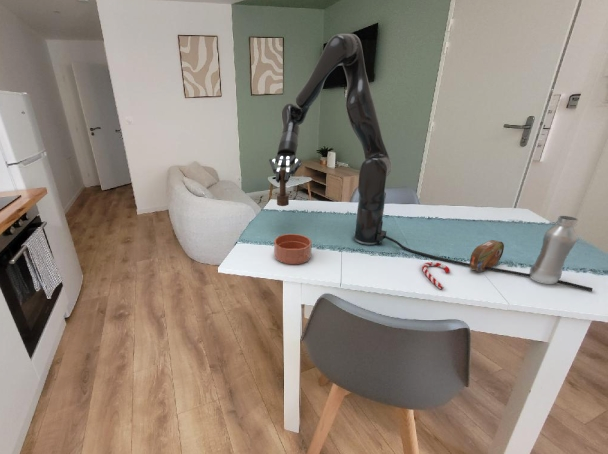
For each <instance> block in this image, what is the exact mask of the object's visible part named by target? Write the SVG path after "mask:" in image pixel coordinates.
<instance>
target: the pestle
mask: <svg viewBox="0 0 608 454" xmlns="http://www.w3.org/2000/svg"><path fill="white" fill-rule="evenodd" d="M285 172H286V169H282V170H280V181H279V193H277V194H276V205H277V206H279V207H287V206H289V204H290V194H289V193H287V183H285V182H284V178H285Z"/></svg>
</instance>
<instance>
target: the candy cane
mask: <svg viewBox="0 0 608 454" xmlns="http://www.w3.org/2000/svg"><path fill="white" fill-rule="evenodd" d="M429 267H437V268H441V269H443V270H444V271H445V273H446V274H449V273H450V271H451V270H450V268H449V266H448V265H445V264H443V263H440V262H435V261H428V262H425V263H423V265H422V267H421V269H422V272H423V274H424V276H426V278H427V279H428V280H429V281H430V282H431V283H432V284H433V285H434V286H435V287H437V288H438V289H439V290H442V289H444V286H443V284H442V283H440V281H438V280H437V279H436V278H435V277H434V276H433V275H432V274H431V272H429V270H428V268H429Z"/></svg>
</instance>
